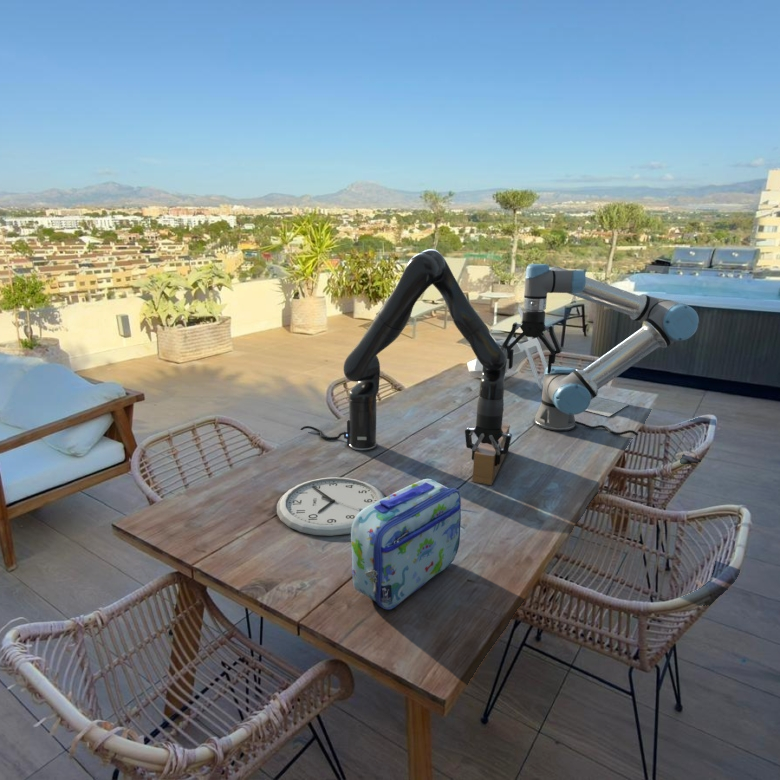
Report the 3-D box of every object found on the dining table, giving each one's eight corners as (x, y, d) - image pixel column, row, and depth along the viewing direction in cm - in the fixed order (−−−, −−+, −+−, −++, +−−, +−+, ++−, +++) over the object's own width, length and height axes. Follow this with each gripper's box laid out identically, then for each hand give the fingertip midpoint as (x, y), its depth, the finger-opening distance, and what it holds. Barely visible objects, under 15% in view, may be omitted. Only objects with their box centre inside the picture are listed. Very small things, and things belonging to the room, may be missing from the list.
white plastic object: (487, 418, 267) (468, 395, 242) (469, 346, 289) (449, 318, 264) (558, 394, 255) (545, 368, 230) (533, 321, 277) (518, 289, 252)
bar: (490, 447, 182) (492, 422, 179) (507, 450, 180) (509, 425, 177) (472, 481, 158) (474, 453, 155) (491, 485, 156) (494, 456, 153)
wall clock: (392, 527, 129) (268, 531, 127) (391, 533, 130) (269, 537, 127) (383, 473, 158) (282, 475, 155) (383, 478, 158) (282, 480, 156)
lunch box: (380, 623, 100) (381, 528, 94) (344, 596, 108) (343, 505, 101) (464, 565, 118) (470, 482, 112) (428, 545, 125) (432, 466, 119)
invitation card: (608, 416, 214) (573, 407, 224) (608, 416, 214) (573, 408, 224) (628, 404, 229) (594, 396, 238) (628, 405, 229) (594, 397, 238)
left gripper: (462, 411, 153) (459, 463, 158) (512, 418, 148) (507, 472, 153) (469, 403, 159) (465, 454, 165) (516, 410, 154) (511, 462, 159)
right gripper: (495, 309, 181) (492, 368, 188) (570, 314, 171) (564, 376, 177) (501, 306, 188) (497, 363, 194) (573, 311, 177) (567, 371, 184)
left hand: (485, 462), depth 159 cm, fingers closed on bar, 6 cm apart
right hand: (529, 370), depth 186 cm, fingers open, 13 cm apart
